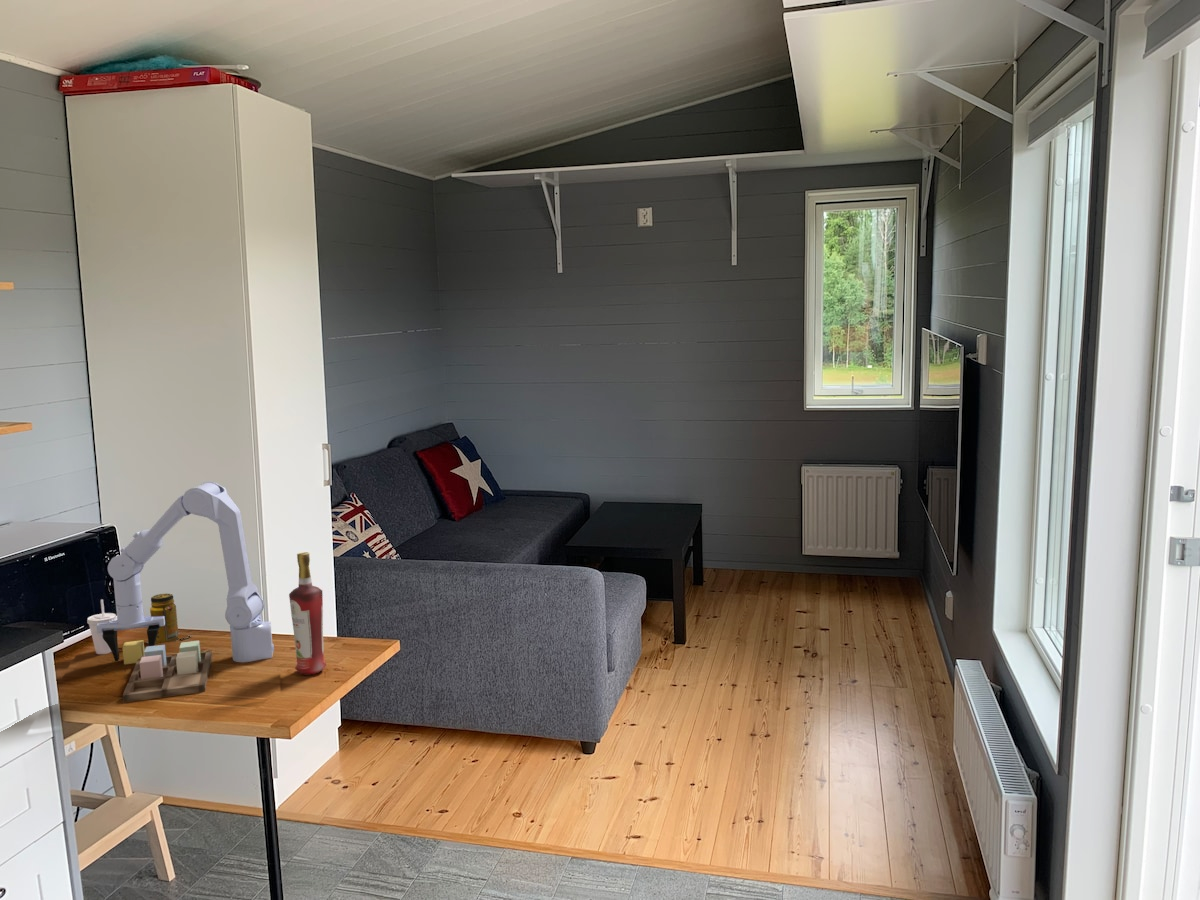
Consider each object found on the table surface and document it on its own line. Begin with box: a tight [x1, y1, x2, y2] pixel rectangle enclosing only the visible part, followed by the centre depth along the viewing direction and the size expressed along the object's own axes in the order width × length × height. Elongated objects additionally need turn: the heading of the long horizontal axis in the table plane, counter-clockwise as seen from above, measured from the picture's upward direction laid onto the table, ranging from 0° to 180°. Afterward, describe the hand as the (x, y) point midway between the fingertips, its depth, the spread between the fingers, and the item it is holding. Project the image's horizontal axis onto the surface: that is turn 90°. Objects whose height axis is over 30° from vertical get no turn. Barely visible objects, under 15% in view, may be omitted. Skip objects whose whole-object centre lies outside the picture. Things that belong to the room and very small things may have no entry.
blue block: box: [144, 644, 167, 666], centre depth 222 cm, size 4×4×5 cm
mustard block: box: [122, 639, 145, 665], centre depth 228 cm, size 4×4×5 cm
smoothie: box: [86, 598, 117, 655], centre depth 234 cm, size 6×6×14 cm
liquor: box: [288, 552, 327, 676], centre depth 218 cm, size 7×7×28 cm
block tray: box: [122, 649, 213, 703], centre depth 216 cm, size 16×24×2 cm
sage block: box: [179, 640, 201, 662], centre depth 224 cm, size 4×4×5 cm
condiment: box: [145, 593, 192, 645], centre depth 245 cm, size 7×8×12 cm
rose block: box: [140, 655, 163, 680], centre depth 215 cm, size 4×4×5 cm
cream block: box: [176, 651, 198, 675], centre depth 217 cm, size 4×4×5 cm
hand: (134, 657), depth 228 cm, fingers open, 7 cm apart
